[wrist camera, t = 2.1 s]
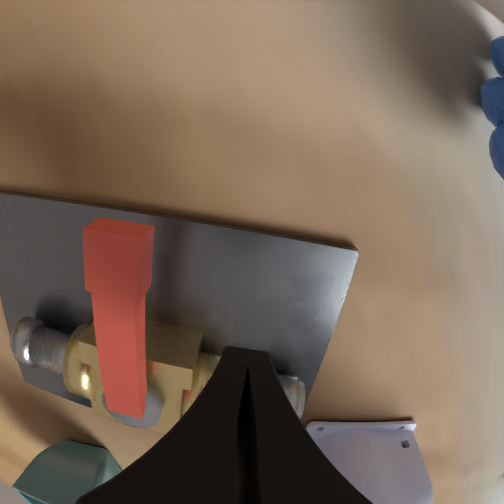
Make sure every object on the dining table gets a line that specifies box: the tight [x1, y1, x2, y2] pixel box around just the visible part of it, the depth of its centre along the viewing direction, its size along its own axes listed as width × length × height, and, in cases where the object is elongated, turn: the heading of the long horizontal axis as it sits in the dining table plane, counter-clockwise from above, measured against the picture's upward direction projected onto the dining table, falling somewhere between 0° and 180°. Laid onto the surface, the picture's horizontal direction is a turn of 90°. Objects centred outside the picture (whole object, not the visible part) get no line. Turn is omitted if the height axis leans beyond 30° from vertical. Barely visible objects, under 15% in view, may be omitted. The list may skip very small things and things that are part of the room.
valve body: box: [0, 191, 359, 434], centre depth 16 cm, size 22×16×4 cm
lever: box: [83, 217, 164, 428], centre depth 13 cm, size 11×3×2 cm, turn 170°
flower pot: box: [12, 440, 122, 504], centre depth 20 cm, size 9×9×9 cm
